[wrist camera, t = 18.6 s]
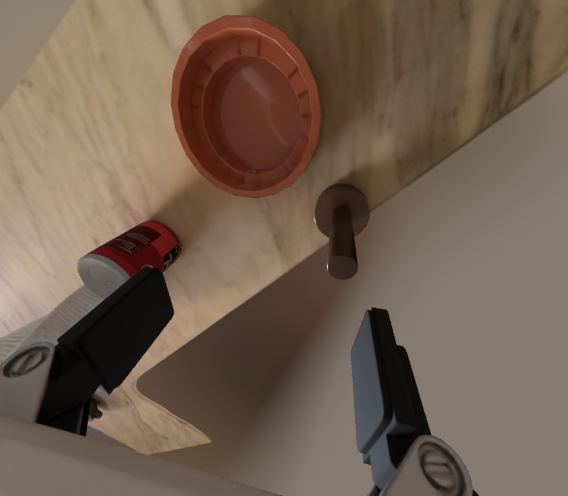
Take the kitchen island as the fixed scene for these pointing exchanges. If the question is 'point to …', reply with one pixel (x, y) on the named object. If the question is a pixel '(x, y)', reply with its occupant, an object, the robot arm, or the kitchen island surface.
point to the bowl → (246, 106)
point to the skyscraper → (51, 322)
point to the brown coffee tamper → (341, 226)
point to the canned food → (128, 257)
